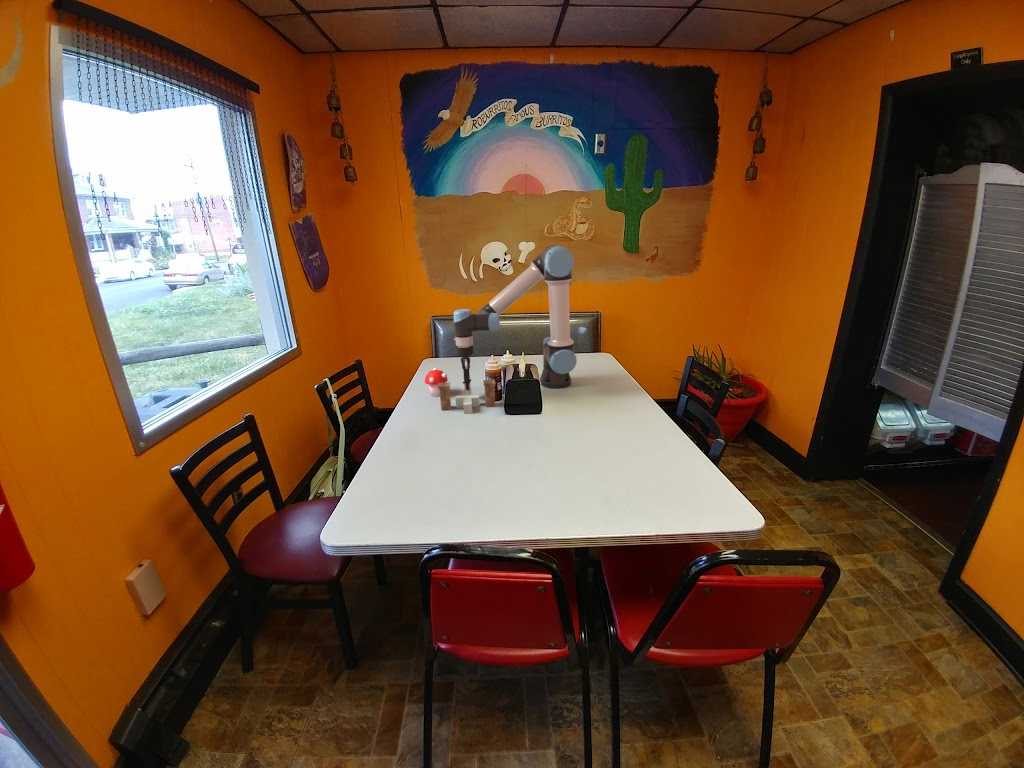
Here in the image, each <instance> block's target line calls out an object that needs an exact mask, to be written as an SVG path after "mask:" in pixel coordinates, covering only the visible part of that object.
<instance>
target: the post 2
mask: <svg viewBox="0 0 1024 768" xmlns="http://www.w3.org/2000/svg"><path fill="white" fill-rule="evenodd" d="M482 380H483V381H482V383H483V386H484V402H485V408H492V407H493V408H494V407H496V395H495V393H496V392H495V385H496V382H495V379H482Z"/></svg>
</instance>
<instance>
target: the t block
mask: <svg viewBox="0 0 1024 768" xmlns="http://www.w3.org/2000/svg"><path fill="white" fill-rule="evenodd" d="M473 407H474V408H475V407H480V396H479V394H471V395H467V396H465V395H457V396H455V408H457V409H458V408H463V414H464V415H465V414H473Z"/></svg>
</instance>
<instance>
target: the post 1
mask: <svg viewBox="0 0 1024 768" xmlns="http://www.w3.org/2000/svg"><path fill="white" fill-rule="evenodd" d="M450 388H451V382H449V381H448V382H446V383H439V385H438V389H440V396H439V397H440V399H439V400H440V409H441V411H451V410H452V402H451V389H450Z"/></svg>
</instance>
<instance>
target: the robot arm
mask: <svg viewBox="0 0 1024 768" xmlns="http://www.w3.org/2000/svg"><path fill="white" fill-rule="evenodd" d="M574 265H575V260H574V255H573V253H572V252H571V251H570V250H569V249H568V248H566V247H564V246H562V245H553V244H552V245H549V246H547V247H545V248H544V249H543V250H542V251H541V252H540V253H539V254H538V255H537V256H536V257H535V258H534V259H533V260H532V261H531V262H530V266H529V267H528V268H526V269H525V270H524V271H522V272H521V274H519V275H518V276H517V277H516V278H515V279H514V280H512V282H510V283H509V284H508V285H507V286H506V287H504V288H503V289H502V290H501V291H500V292H498V294H496V296H494V297H493V298H492V299H491V300H490V301H489V302H487V303H486V304H485V305H484V306H481V307H480V308H479V309H478V310H477V313H472V311H471V309H470V308H469V309H468V308H463V309H462V308H459V309H456V310H454V312H453V327H454V336H455V338H453V341H455V346H456V347H455V353H456V355H457V356H459V357H461V358H460V363H461V367H462V368H461V369H462V373H463V381H462V384H463V385H464V386H463V387H464V396H467V395H472V389H471V382H472V379H471V374H470V369H471V357H470V356H472V355H473V354H474V337H473V332H494V331H498V330H500V328H501V327H500V326H501V323H500V316H501V314H502V313H504V312H505V311H506V310H508V308H509V307H511V306H512V305H513V304H514V303H515V302H516V301H518V300H519V299H520V298H521V297H522V296H523V295H525V294H526V293H527V292H528V291H529V290H530V289H532V288H533V287H534V286H535V285H536V284H538V282H539V281H541V280H544V282H545V283H546V284H547V286H548V287H547V289H548V310H549V329H550V331H549V332H550V336H548V337H545V338H543V340H542V341H543V343H542V348H543V349H542V350H543V352H542V355H543V359H542V360H543V362H542V363H543V365H542V366H543V367H542V371H541V375H540V378H539V383H540V382H541V384H540V385H541V386H542V387H545V388H549V389H562V388H567V387H569V386H571V384H572V377H571V374H570V373H571V372H572V371H573V370H574V368H575V367H576V365H577V361H578V360H577V355H576V354H575V344H574V343H575V341H574V340H573V339H572V338H571V323H570V321H571V319H570V292H569V291H570V290H569V287H570V285H569V283H570V282H571V281H572V280H573V269H574Z"/></svg>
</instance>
